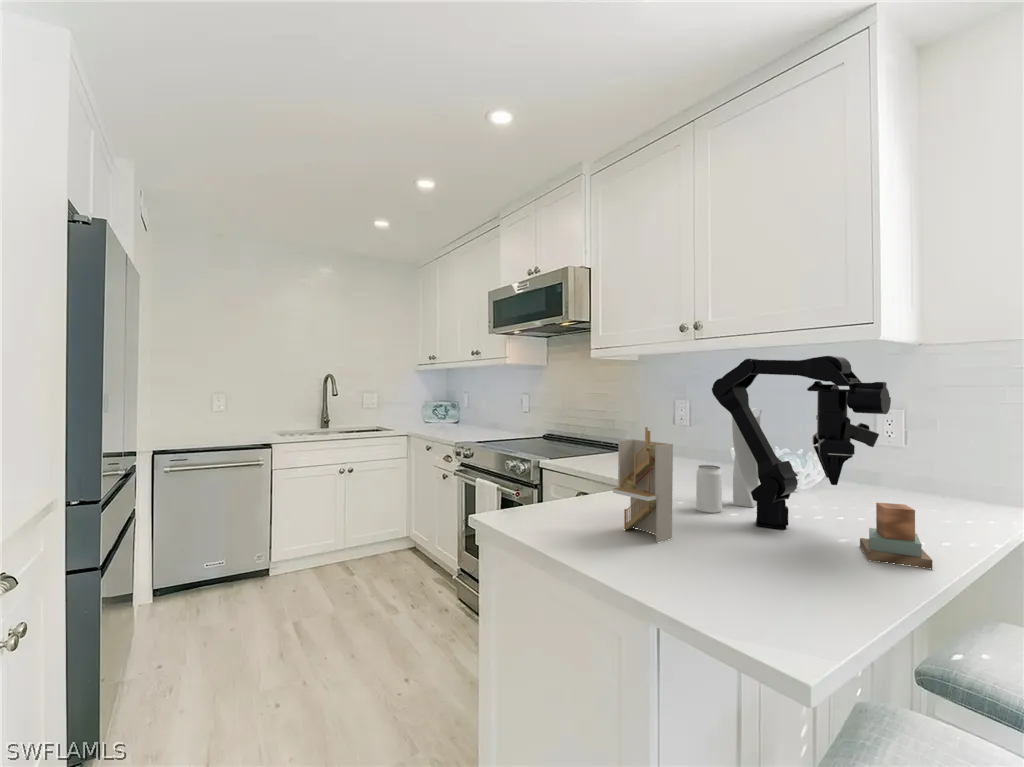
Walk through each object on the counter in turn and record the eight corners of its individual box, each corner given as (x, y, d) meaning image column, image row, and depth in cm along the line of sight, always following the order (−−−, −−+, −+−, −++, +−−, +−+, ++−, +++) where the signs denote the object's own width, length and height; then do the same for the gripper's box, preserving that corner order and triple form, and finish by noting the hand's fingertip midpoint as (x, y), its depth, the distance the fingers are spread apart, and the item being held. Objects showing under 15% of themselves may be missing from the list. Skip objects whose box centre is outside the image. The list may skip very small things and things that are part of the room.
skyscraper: (764, 504, 147) (764, 406, 146) (758, 509, 141) (759, 408, 140) (734, 500, 151) (735, 406, 151) (728, 505, 145) (729, 407, 145)
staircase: (631, 528, 123) (632, 423, 123) (672, 540, 114) (672, 427, 114) (609, 534, 119) (610, 425, 118) (650, 547, 109) (650, 429, 109)
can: (725, 513, 136) (725, 468, 136) (701, 513, 136) (701, 468, 136) (716, 507, 142) (716, 464, 142) (692, 507, 143) (693, 464, 142)
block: (884, 538, 101) (884, 507, 101) (876, 531, 106) (876, 502, 106) (915, 540, 100) (915, 510, 100) (905, 533, 104) (905, 504, 104)
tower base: (868, 564, 101) (868, 552, 101) (859, 549, 110) (860, 537, 110) (932, 573, 96) (932, 560, 96) (917, 556, 105) (917, 544, 105)
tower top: (870, 549, 102) (870, 537, 102) (869, 539, 109) (869, 527, 109) (921, 557, 98) (921, 544, 98) (916, 545, 104) (916, 533, 104)
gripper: (884, 415, 103) (884, 493, 103) (867, 410, 119) (867, 477, 119) (820, 413, 107) (819, 487, 108) (812, 409, 124) (812, 473, 124)
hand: (831, 481), depth 115 cm, fingers open, 9 cm apart
